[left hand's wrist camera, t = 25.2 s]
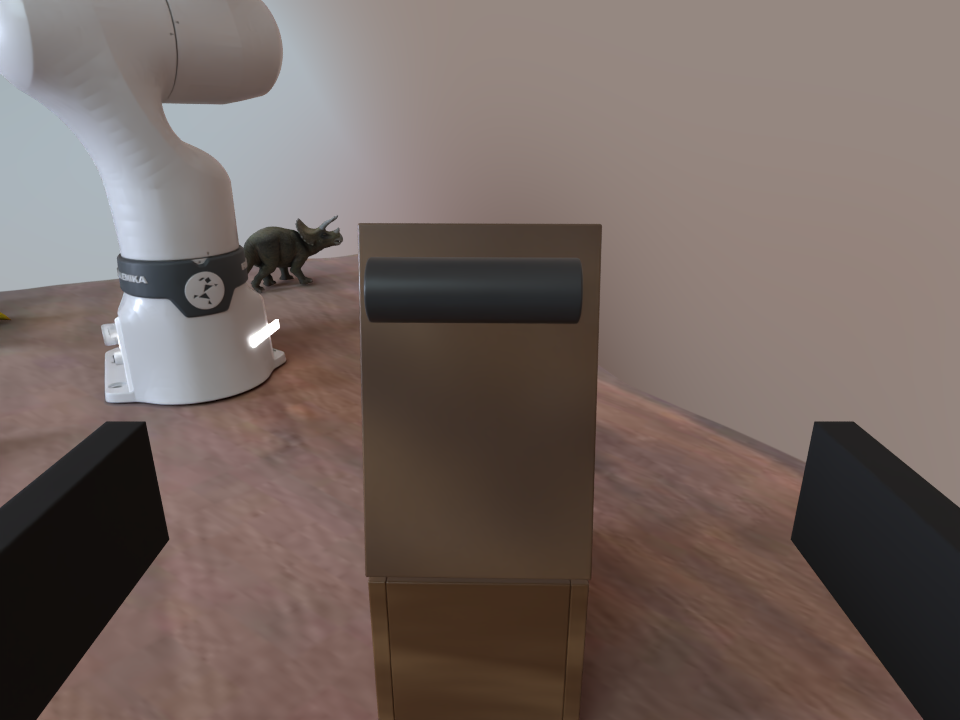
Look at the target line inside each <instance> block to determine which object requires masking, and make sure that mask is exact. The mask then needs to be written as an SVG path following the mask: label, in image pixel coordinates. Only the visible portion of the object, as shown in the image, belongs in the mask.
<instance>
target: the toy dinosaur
mask: <svg viewBox="0 0 960 720" xmlns="http://www.w3.org/2000/svg"><path fill="white" fill-rule="evenodd" d="M337 217H338V215H337V216H336V217H335V216H334V217H333V218H332V219H330V220H327V221H325V222H324V223H323V224H322V225H321V226H320V227H318V228H316V229H311V228H308V227H307V226H306V225H305V224H304V223H303V222H302V221H301V220H300V219H298V220H297V221H296V228H297V230H298V232H297V231H295V230H290V229H284V228H280V227H266V228H264V229H261V230H259V231H257V232H255V233H254V234H253V235H251V236H250V237H249V238H248V240H247V241H246V242H245V245H244V254H245V258H246V260H247V274H248V273H249V272H250V270H251V269H252V267H253V265H255V266H256V267H259V268H260V269H259V273H258V274H257V275H256V276H255V277H254V280H253V281H252V282H251V284H252V287H253V288H254V289H255V290H256V291H257V292H260V293H262V290H265V289H264V288H263V287H260V286H259V285H260V283H261V280H262V279H263V281H264V283H263V284H264V285H265V286H270V285H273V284H276V282H275V281H273V278H272V276H271V275H270V274H271V273H272V272H274V271H275V269H276V267H278V268H279V269H280V271H281V274H282V275H281V277H280V280H290V279H294V278H293V276H291V275H289V272H288V267H291V268H290V271H291V273H293V274H294V275H295V276H296V277H297V278H298V279H299V282H300V283H301V284H308V283H311V282H312V279H311V278H307V277H305V276H304V275H303V273H302V271H301V267H302V266H303V265H304V263H305V261H306V260H307V258H308V257H309V256H312V255H314V254H316V253H318V252H319V251H321V250H322V249H324V248H327V247H330V246H336V245H340V244H341V242H342V241H343V237H342V235H341V234H340V233H339V228H337V229H336V230H334V231H330V232H329V231H326V230H325V228H326V227H327V225H329V224H330V223H331V222H333V221H334V220H335V219H337ZM339 241H340V242H339Z"/></svg>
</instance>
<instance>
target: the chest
mask: <svg viewBox="0 0 960 720" xmlns="http://www.w3.org/2000/svg"><path fill="white" fill-rule="evenodd" d="M368 587H369V600H370V613H371V627H372V640H373V653H374V667H375V680H376V693H377V707H378V720H579V714H580V700H581V686H582V673H583V659H584V645H585V632H586V618H587V604H588V591H589V583H588V580H572V579H495V578H418V577H369V581H368Z"/></svg>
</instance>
